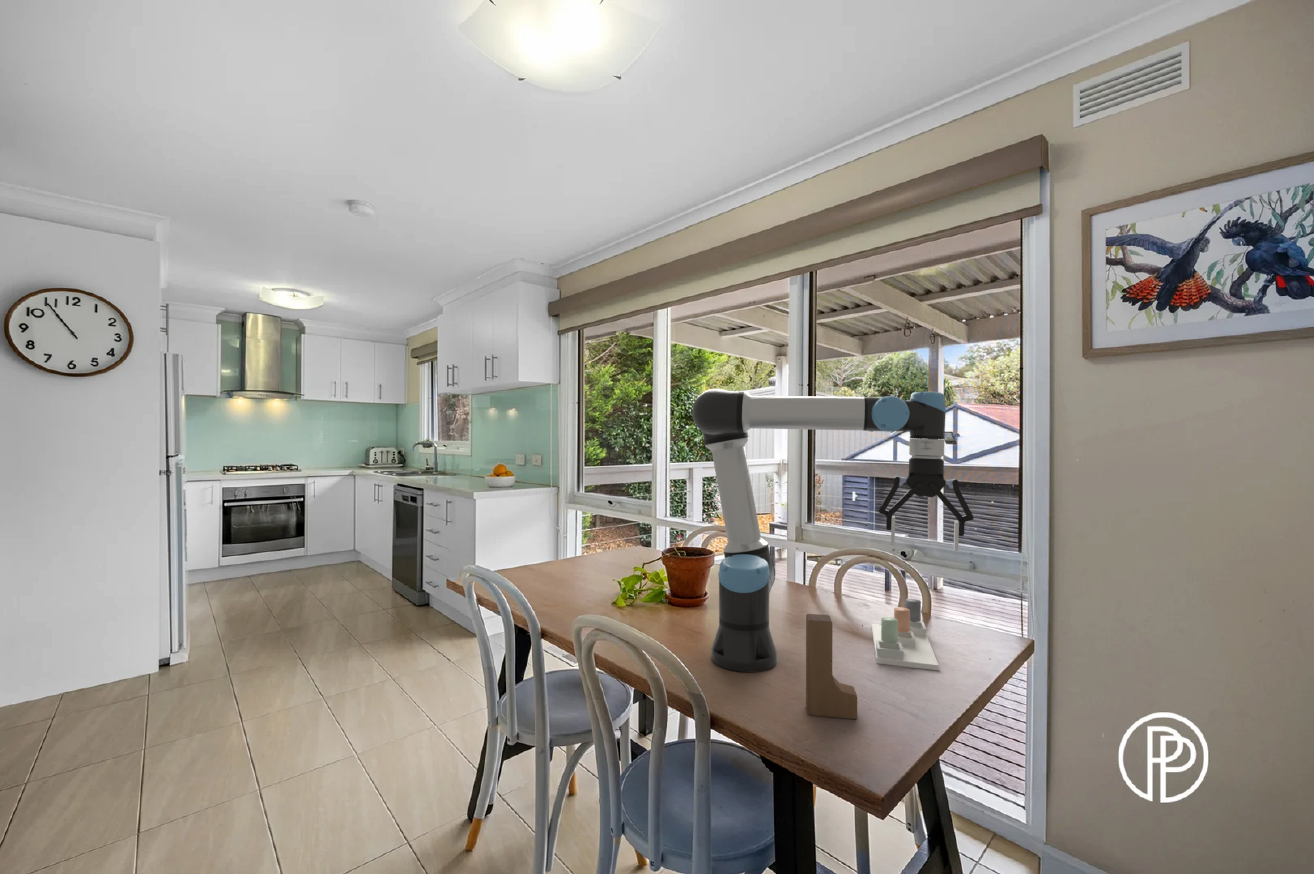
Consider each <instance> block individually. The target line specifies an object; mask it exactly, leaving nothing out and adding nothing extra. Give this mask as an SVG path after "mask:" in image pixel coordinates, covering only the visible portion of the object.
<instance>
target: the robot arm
mask: <svg viewBox="0 0 1314 874" xmlns="http://www.w3.org/2000/svg"><path fill="white" fill-rule="evenodd" d="M946 408H947V407H946V396H945V394H944V393H943V392H940V391H915V392H912V393H911V394H910V398H909V399H907V400H903V399H902V398H900V397H897V396H895V395H885V396H806V395H805V396H803V395H802V396H800V395H799V396H791V395H790V396H789V395H788V396H787V395H786V396H785V395H784V396H783V395H779V396H778V395H776V396H774V395H770V396H769V395H766V396H765V395H750V393H749V392H748V391H736V390H734V391H733V390H726V389H721V388H711V389H708V390H705V391H704V392H702V393H700V395H698V397H696V399H695V401H694V403H693V405H692V412H691V413H692V414H691V415H692V419H693V423H694V424H695V425H696V427H697V428H698V429H699V431H701V432H702V437H703V443H704V446H705V448H706V449H708V450H709V451H710V452H711V456H712V461H713V467H714V471H715V478H716V483H717V489H718V494H719V498H720V500H719V501H720V505H721V510H722V516H723V517H722V518H723V522H724V527H725V533H726V538H727V539H726V540H727V543H726V544H725V546H724V548H723V549H722V550H723V556H724V559H722V560H721V562H720V564H719V569H718V574H717V575H718V628H717V631H716V633H715V635H714V640H713V642H712V646H711V661H712V662H713V663H714V664H715V665H717V666H718V667H721V668H723V669H726V670H729V671H734V672H739V673H740V672H741V673H756V672H763V671H767V670H769V669H772V668H773V667H775V666H776V664H777V663H778V662H777V659H778V657H777V656H778V655H777V653H778V652H777V648H776V646H775V643H774V640H773V635H772V633H771V630H770V594H771V590H772V588H773V585H774V583H775V580H776V567H775V563H774V561H773V560H772V557H771V553H770V547H769V543H768V541H766V540H765V539H764V538H763V537H762V535H761V530H760V525H759V520H758V515H757V509H756V503H755V498H754V497H755V496H754V491H753V486H752V485H753V484H752V480H751V476H750V469H749V465H748V460H747V459H748V457H747V453H746V447H745V446H746V444H747V442H748V441H749V439H750V438H749V437H750V436H749V430H750V429H761V430H762V429H763V430H764V429H768V430H769V429H770V430H771V429H773V430H774V429H775V430H777V429H778V430H818V431H819V430H821V431H822V430H824V431H828V430H829V431H863V432H887V433H888V432H891V433H892V432H902V433H904V432H905V433H907V432H908V433H909V443H908V444H909V453H908V454H909V456H911V457H910V458H909V459H908V475H907V477H902V476H899V475H895V476H894V479H893V484H892V487H891V489H889V492H888V493H887V495H886V497H885V499H884V500H883V502H882V504H881V506H880V507H879V510H878V513H879V514H881V515H884V516H885V517H886V518H885V519H886V525H885V526H886V530H887V531H890V545H893V546H895V537H896V535H895V534H896V516H893V515H894V514H895V513H896V512H897V511H898V510H899V509H900V508H902V506H903V505H904V504H905V503H906V502H907V501H909V500H910V499H911V498H912V497H913V496H914V495H915V496H917V497H927V498H934V497H938V499H940V501H941V502H942V503H943V504H944V506H946V508H947V509H948V510H949V511H950V512H951V513H952V515H954V517H955V518H956V519H957V520H953V521H954V523H953V524H954V525H953V528H954V529H953V531H954V532H953V550H954V552H955V551H956V552H958V551H959V540H960V539H959V537H964V536H965V523H966V522H969V521H974V515H973V512H972V511H971V509H970V508H969V505H968V504H967V502H966V499H965V498H964V495H963V494H962V492H961V490H960V485H959V483H960V482H959V480H958V479H956V478H953V479H945V477H944V474H945V460H944V459H943V458H942V457H944V456H945V438H946V437H945V435H946V434H945V433H946V414H947V410H946ZM904 483H906V485H907V486H908V488H910V489H909V490H908V491H907V492H905V493H904V495H903V496H901V497H900V499H899V500H897V501H896V502H895V503H894V505H893V506H892V507H890V508H889V510H888V509H887V508H888V507H889V505H890V503H891V501H892V499H893V497H894V496H895V494H896V493H897V491H898V490H899V487H902V486H903V485H904ZM946 485H947V486H948V488H949V489H951V490H953V494H954V495H955V497H956V499H957V501H958V503H959V504H960V506H961V508H962V511H963V512H964V515H962V514H961V513H960V512H959V510H958V509H957V508H956V507H955V506H954V505H953V504H952V503H951V501H950V500H949V499H948V498H947V497H946V496H945V494H944V493H943V492H942V490H943V488H944V487H945V486H946Z"/></svg>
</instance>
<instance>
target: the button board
mask: <svg viewBox="0 0 1314 874" xmlns="http://www.w3.org/2000/svg"><path fill="white" fill-rule="evenodd" d="M871 631H872V632H871V633H872V634H871V635H872V640H873V641H872V642H873V647H874V655H875V662H876V664H881V665H888V666H889V665H891V666H896V667H897V666H898V667H904V668H906V667H907V668H915V669H924V670H930V671H931V670H932V671H939V669H940V667H939V666H940V664H939V663H938V660H937V658H936V656H935V655H936V654H935V653H934V650H933V647H932V645H931V643H930V639H928V635H927V627H926V625H925V622H924V621H920V622H911V621H910V631H909V632H900V631H898V642H897V643H886V642H883V641H882V640H881V624H878V623H871Z"/></svg>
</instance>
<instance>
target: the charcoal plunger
mask: <svg viewBox="0 0 1314 874" xmlns="http://www.w3.org/2000/svg"><path fill="white" fill-rule="evenodd" d="M921 605H922V602H921V600H920V599H916V598H906V599H905V608H907V609H909V610H910V621H911V622H922V620H921V619H922V617H921V616H922V609H921V608H922V607H921Z"/></svg>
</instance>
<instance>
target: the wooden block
mask: <svg viewBox="0 0 1314 874" xmlns="http://www.w3.org/2000/svg"><path fill="white" fill-rule="evenodd" d="M805 705H806V707H805V708H806V713H807V715H808V716H814V717H815V716H816V717H827V718H838V719H848V720H849V719H850V720H857V718H858V695H857V692H856V690H855V687H854V686H853V685H850V684H845V683H842V682H840V681H839V680H837V678H835V677H834V675H833V621H832V618H831V616H830V615H829V614H817V613H807V614H806V615H805Z"/></svg>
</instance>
